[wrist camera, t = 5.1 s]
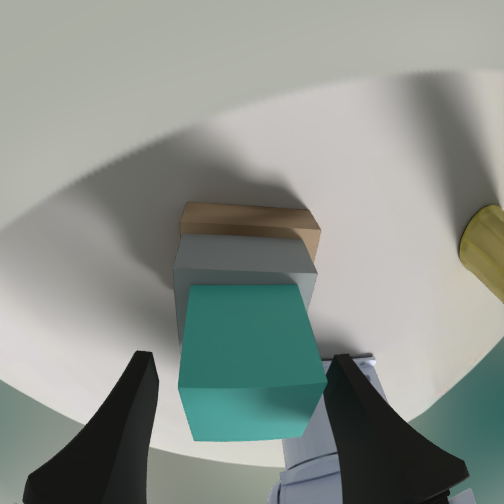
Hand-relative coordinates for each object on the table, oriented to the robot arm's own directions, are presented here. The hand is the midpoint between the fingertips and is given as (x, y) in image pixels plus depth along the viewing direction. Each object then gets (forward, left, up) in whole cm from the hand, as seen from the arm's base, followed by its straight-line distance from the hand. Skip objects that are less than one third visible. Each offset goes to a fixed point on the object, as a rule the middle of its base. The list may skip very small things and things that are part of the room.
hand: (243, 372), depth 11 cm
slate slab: (0, 0, -6) cm, 6 cm away
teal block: (0, 0, -3) cm, 3 cm away
